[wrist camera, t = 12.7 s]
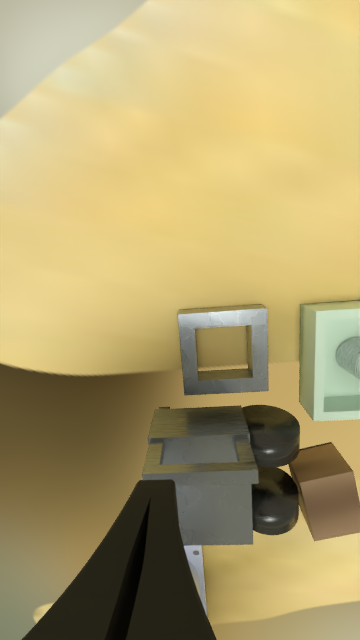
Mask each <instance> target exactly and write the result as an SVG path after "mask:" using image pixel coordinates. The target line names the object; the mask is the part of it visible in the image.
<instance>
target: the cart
mask: <svg viewBox="0 0 360 640" xmlns="http://www.w3.org/2000/svg"><path fill="white" fill-rule="evenodd" d="M299 436H300V426H299V423H298V421H297V419H296V418H295V417H294V416H293V415H292V414H290V413H289V412H287V411H285V410H283V409H280V408H277V407H273V406H267V405H252V406H246V407H243V408H241V406H223V407H202V408H183V409H170V407H159V410H155V412H154V416H153V420H152V424H151V428H150V432H149V436H148V443H149V447H148V451H147V455H146V460H145V464H144V469H143V473H142V476H143V480H166V479H172V480H173V481H174V482H175V487H176V497H177V507H178V517H179V528H180V533H181V537H182V541H183V545H184V546H189V545H244V544H253V530H254V531H256V532H259V533H262V534H266V535H279V534H283V533H286V532H288V531H289V530H291V529H292V528H293V527H294V526H295V524H296V523H297V520H298V515H299V506H298V505H299V491H298V487H297V485H296V483H295V481H294V480H293V479H292V477H291V476H289V475H288V474H287V473H286V472H285V471H283V470H281V469H279V468H277V467H279V466H284V465H287V464H289V463H291V462H292V461H294V460H295V459H296V458H297V456H298V454H299V438H300V437H299Z"/></svg>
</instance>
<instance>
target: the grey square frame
mask: <svg viewBox="0 0 360 640" xmlns="http://www.w3.org/2000/svg"><path fill="white" fill-rule="evenodd" d="M178 322H179V334H180V346H181V358H182V370H183V382H184V394H185V395H201V394H219V393H240V392H258V391H259V392H260V391H268V319H267V308H266V307H265V306H263V305H262V304H257V305H243V306H228V307H214V308H200V309H186V310H179V312H178ZM244 325H247V343H248V369H232V370H213V371H198V365H197V350H196V336H195V329H199V328H214V327H229V326H244Z"/></svg>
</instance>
